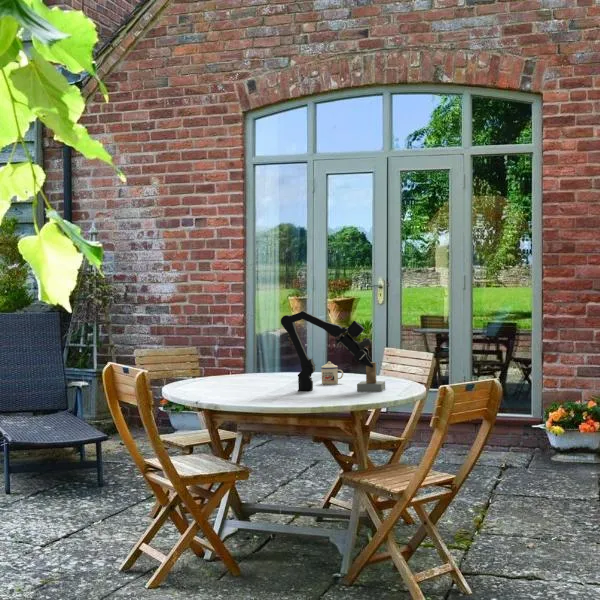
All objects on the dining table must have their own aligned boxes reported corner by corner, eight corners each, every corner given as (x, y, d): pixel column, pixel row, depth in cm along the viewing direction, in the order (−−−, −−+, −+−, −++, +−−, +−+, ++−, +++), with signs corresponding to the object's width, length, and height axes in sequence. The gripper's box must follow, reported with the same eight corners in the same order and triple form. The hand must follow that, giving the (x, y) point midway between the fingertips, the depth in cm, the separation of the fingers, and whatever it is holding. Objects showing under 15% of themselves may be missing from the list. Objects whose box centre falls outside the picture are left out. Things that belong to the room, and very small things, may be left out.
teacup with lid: (319, 384, 446) (318, 362, 446) (324, 382, 455) (323, 360, 455) (341, 384, 443) (340, 362, 442) (345, 382, 451) (345, 360, 451)
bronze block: (366, 383, 414) (366, 362, 414) (367, 382, 418) (367, 361, 418) (375, 383, 413) (375, 362, 413) (376, 382, 417) (376, 361, 417)
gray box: (357, 392, 411) (357, 384, 411) (361, 389, 423) (361, 381, 423) (381, 392, 408) (381, 384, 408) (385, 389, 420) (385, 381, 420)
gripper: (359, 333, 407) (383, 356, 405) (363, 331, 425) (386, 353, 424) (344, 350, 408) (367, 372, 407) (348, 347, 427) (370, 369, 425)
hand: (373, 366), depth 415 cm, fingers open, 7 cm apart
